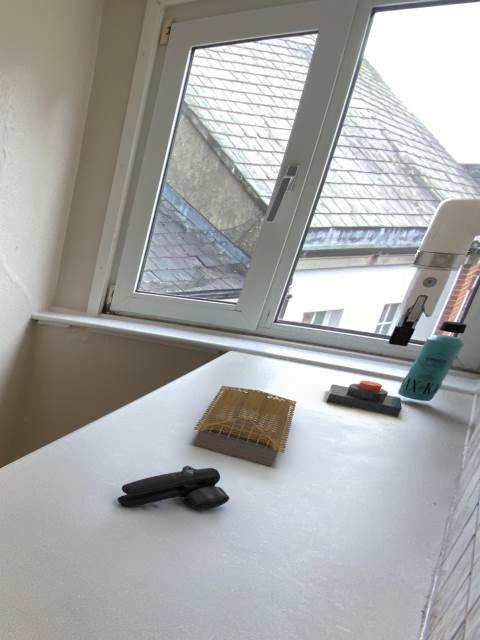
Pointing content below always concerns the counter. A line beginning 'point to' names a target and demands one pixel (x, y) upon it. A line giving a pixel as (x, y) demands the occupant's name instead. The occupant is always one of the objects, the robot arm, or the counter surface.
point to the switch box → (365, 399)
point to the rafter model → (246, 424)
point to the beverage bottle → (432, 363)
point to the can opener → (177, 489)
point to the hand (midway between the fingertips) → (397, 344)
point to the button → (369, 386)
